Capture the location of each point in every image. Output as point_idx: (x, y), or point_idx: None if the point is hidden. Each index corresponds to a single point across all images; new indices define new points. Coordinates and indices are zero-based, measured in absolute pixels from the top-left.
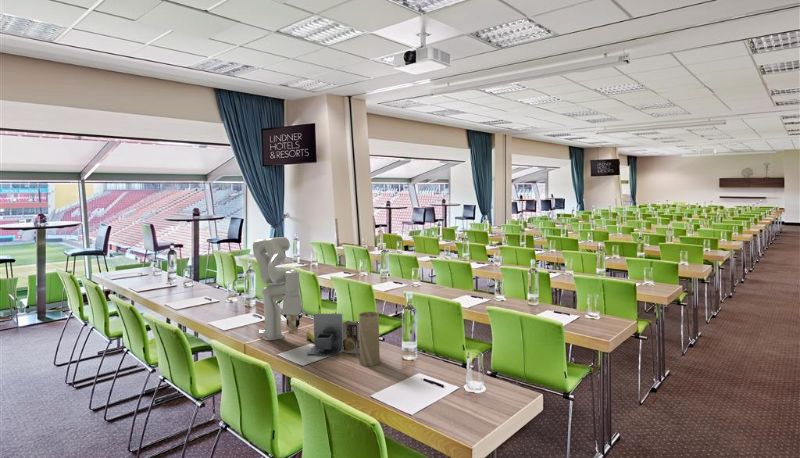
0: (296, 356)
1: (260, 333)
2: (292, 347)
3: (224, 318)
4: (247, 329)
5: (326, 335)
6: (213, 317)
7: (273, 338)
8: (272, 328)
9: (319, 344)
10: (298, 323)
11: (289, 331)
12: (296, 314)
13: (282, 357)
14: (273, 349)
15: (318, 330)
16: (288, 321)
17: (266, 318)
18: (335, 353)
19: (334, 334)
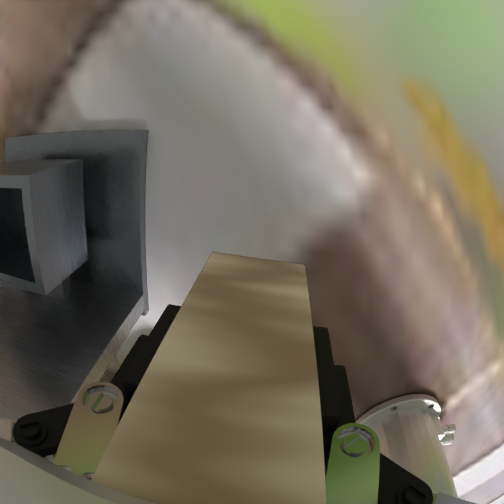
0: (221, 114)
1: (450, 426)
2: None
3: (479, 485)
4: (459, 458)
5: (11, 270)
6: (494, 481)
7: (401, 403)
8: (414, 446)
9: (40, 165)
10: (135, 350)
11: (294, 277)
12: (19, 462)
13: (322, 101)
14: (405, 272)
15: (68, 349)
16: (315, 381)
17: (451, 485)
18: (10, 151)
19: (5, 305)
